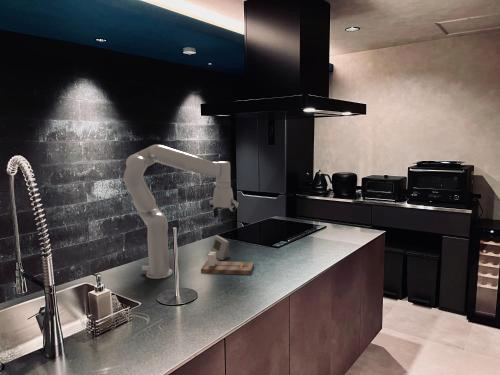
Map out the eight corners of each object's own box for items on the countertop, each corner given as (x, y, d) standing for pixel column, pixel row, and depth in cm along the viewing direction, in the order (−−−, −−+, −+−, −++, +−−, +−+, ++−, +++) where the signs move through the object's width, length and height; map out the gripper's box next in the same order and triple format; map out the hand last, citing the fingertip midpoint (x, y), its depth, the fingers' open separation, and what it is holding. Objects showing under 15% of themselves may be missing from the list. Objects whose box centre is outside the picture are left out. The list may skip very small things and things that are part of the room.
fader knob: (208, 266, 193) (207, 254, 192) (210, 262, 198) (210, 251, 197) (214, 266, 192) (213, 254, 191) (216, 263, 197) (216, 251, 196)
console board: (201, 272, 190) (200, 268, 190) (206, 264, 202) (206, 260, 201) (250, 274, 187) (250, 270, 186) (253, 266, 198) (253, 262, 198)
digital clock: (209, 253, 221) (209, 235, 220) (225, 251, 224) (224, 233, 222) (215, 261, 206) (214, 242, 204) (231, 259, 209) (231, 241, 207)
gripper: (205, 185, 198) (206, 217, 200) (234, 187, 190) (234, 220, 193) (213, 183, 205) (213, 214, 207) (241, 185, 197) (241, 217, 199)
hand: (223, 217), depth 200 cm, fingers open, 9 cm apart
